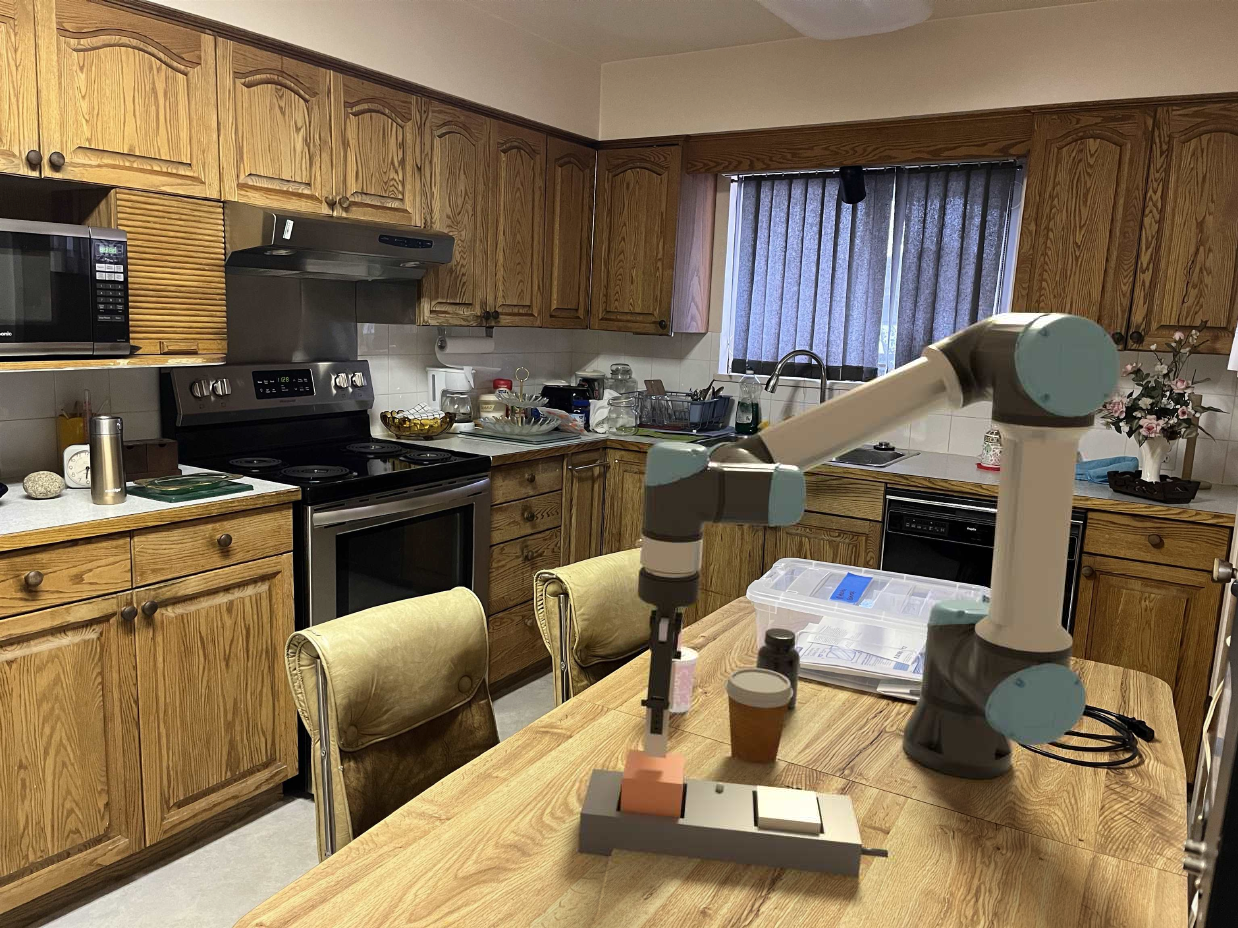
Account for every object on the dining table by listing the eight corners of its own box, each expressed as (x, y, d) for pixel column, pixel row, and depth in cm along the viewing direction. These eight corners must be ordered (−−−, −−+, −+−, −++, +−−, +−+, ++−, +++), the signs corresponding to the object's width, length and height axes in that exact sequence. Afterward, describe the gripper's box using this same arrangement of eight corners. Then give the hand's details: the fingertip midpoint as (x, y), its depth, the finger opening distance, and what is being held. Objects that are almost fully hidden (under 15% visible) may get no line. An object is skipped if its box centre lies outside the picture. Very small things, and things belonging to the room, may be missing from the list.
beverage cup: (650, 709, 146) (656, 625, 144) (664, 694, 152) (669, 614, 149) (687, 717, 144) (693, 632, 141) (699, 702, 149) (705, 620, 147)
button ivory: (811, 828, 113) (815, 791, 112) (816, 862, 106) (820, 823, 105) (753, 822, 113) (757, 785, 113) (755, 855, 107) (758, 816, 106)
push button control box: (879, 836, 114) (883, 793, 113) (894, 888, 103) (899, 841, 102) (591, 804, 117) (593, 762, 116) (578, 851, 107) (580, 806, 106)
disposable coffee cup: (786, 779, 126) (793, 697, 124) (716, 769, 128) (722, 688, 126) (787, 748, 135) (794, 671, 133) (723, 739, 137) (728, 663, 135)
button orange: (682, 792, 114) (685, 755, 113) (679, 823, 107) (682, 783, 106) (626, 786, 115) (628, 749, 114) (620, 816, 108) (622, 777, 107)
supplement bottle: (744, 699, 151) (750, 630, 149) (773, 690, 156) (779, 623, 153) (775, 715, 146) (781, 643, 144) (804, 705, 150) (810, 635, 148)
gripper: (647, 540, 126) (639, 687, 129) (628, 597, 101) (618, 775, 105) (702, 545, 125) (692, 692, 128) (696, 603, 100) (684, 782, 104)
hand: (659, 730), depth 117 cm, fingers open, 13 cm apart
